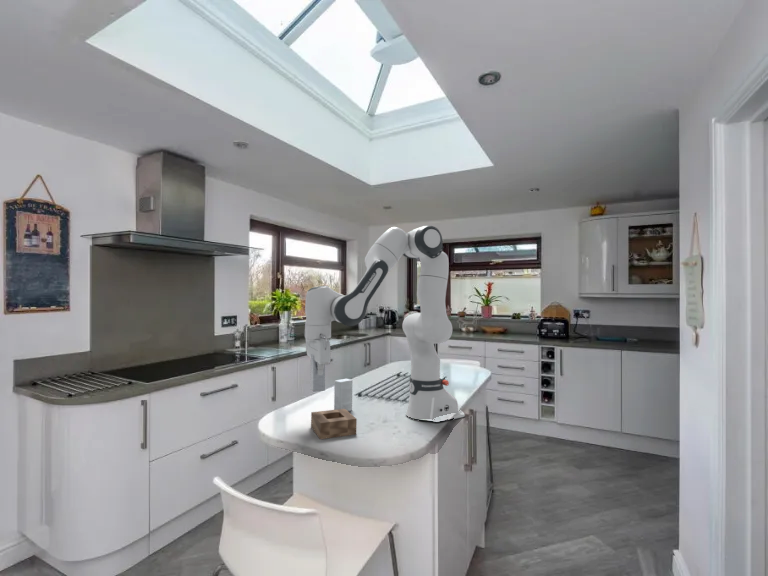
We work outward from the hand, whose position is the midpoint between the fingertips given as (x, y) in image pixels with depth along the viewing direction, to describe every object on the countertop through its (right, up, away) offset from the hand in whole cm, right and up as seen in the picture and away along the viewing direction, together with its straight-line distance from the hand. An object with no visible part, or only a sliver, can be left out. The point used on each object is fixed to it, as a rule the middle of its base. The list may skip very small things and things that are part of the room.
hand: (318, 373), depth 128 cm
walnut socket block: (+6, -18, -4) cm, 19 cm away
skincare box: (+6, -19, +19) cm, 27 cm away
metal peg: (0, -6, 0) cm, 6 cm away
